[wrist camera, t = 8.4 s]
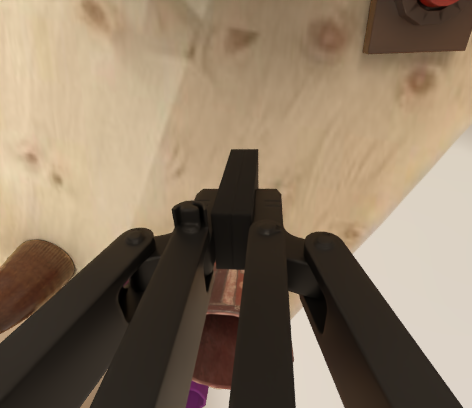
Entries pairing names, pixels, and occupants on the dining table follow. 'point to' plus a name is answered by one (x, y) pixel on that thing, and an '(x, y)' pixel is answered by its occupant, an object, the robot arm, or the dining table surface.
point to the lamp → (31, 280)
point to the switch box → (417, 27)
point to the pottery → (220, 331)
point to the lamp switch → (437, 2)
